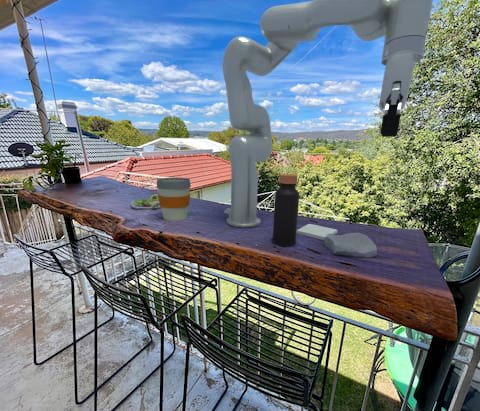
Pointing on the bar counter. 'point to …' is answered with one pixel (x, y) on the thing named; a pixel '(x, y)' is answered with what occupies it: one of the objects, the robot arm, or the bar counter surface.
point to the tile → (316, 231)
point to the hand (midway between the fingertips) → (388, 135)
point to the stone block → (351, 245)
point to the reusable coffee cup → (174, 197)
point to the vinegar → (286, 211)
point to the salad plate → (147, 203)
